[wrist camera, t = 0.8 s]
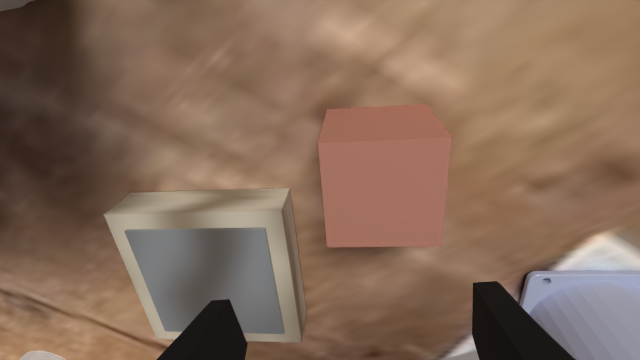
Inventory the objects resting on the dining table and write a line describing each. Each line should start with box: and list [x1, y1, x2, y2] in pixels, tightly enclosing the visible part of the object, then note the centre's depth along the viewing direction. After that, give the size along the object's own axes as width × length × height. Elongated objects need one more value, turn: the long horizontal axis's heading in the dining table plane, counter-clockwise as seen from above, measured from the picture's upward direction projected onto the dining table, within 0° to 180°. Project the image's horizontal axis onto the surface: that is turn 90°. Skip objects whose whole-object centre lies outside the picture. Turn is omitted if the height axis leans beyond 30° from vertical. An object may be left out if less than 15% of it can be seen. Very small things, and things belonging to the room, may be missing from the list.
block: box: [318, 104, 452, 247], centre depth 16 cm, size 5×5×5 cm
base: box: [104, 188, 306, 343], centre depth 21 cm, size 10×10×3 cm
